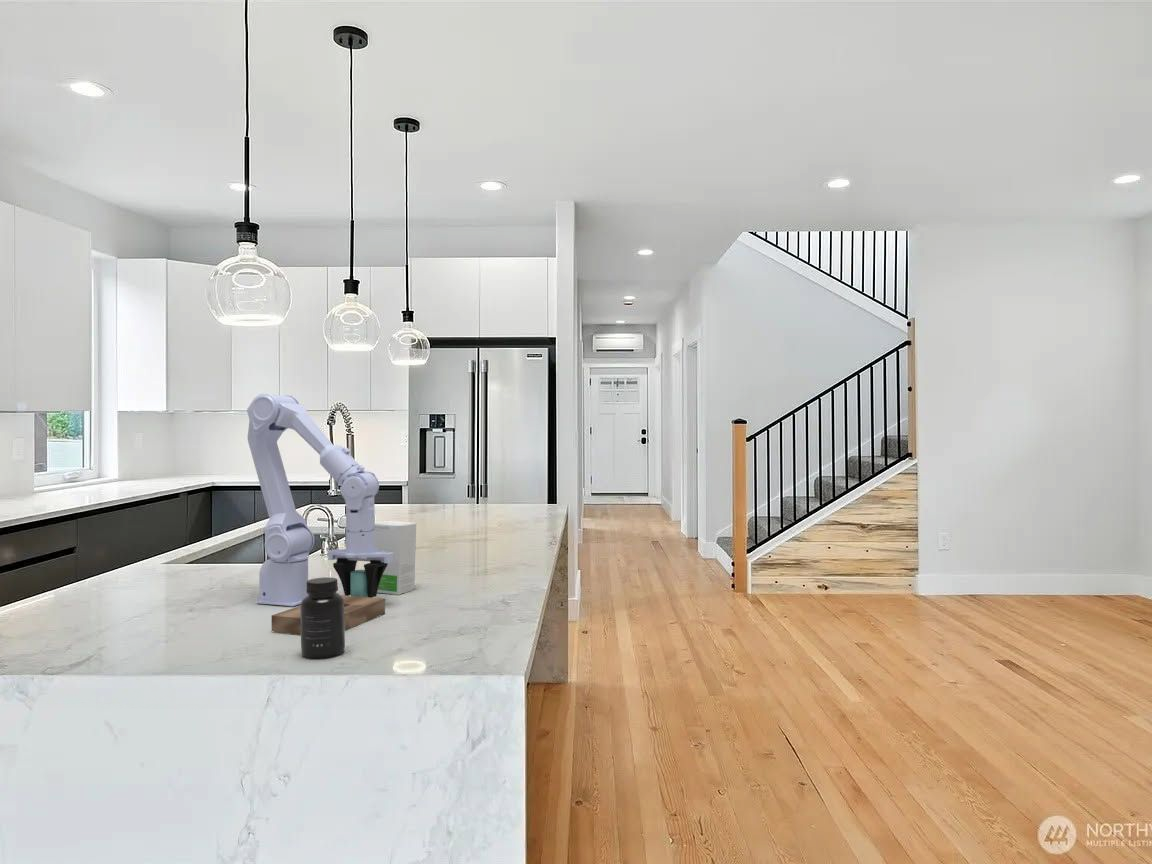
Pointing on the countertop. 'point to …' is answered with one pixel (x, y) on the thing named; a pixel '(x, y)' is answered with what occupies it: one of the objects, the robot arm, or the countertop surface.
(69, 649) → the countertop surface
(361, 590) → the peg
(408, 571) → the skincare box
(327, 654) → the supplement bottle
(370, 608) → the socket board
